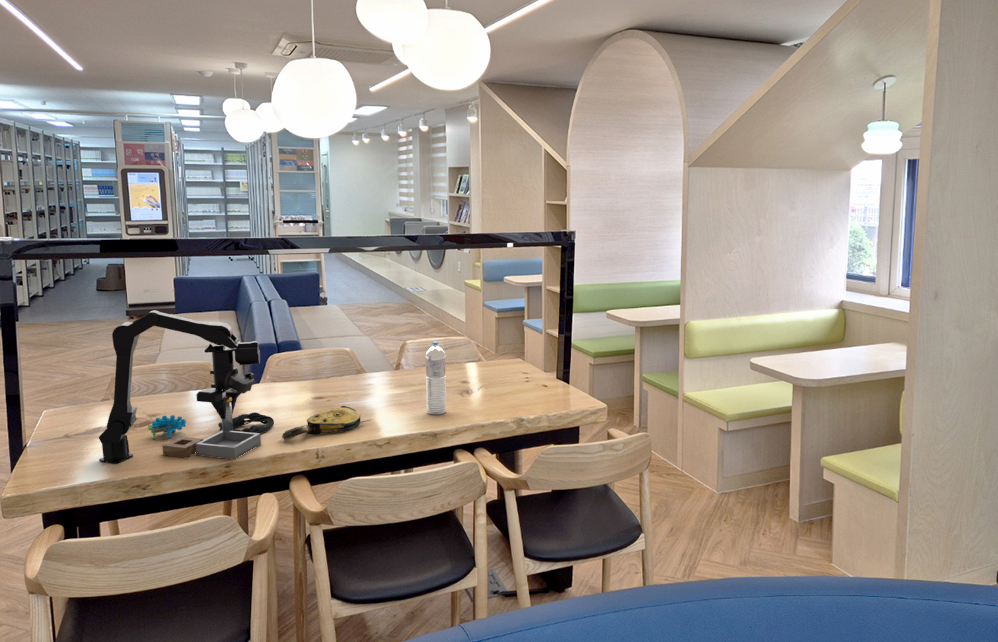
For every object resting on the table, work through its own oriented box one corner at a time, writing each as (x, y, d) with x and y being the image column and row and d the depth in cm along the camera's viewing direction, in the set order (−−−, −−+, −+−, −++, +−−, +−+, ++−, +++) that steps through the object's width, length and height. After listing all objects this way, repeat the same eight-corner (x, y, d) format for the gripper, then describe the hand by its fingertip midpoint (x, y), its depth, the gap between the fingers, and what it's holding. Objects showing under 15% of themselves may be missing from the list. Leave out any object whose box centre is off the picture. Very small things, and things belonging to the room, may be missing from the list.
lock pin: (229, 432, 217) (227, 399, 215) (218, 431, 218) (216, 398, 216) (236, 428, 220) (234, 396, 219) (226, 427, 221) (224, 395, 220)
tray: (235, 459, 212) (234, 447, 212) (196, 455, 216) (195, 443, 215) (261, 444, 225) (260, 433, 224) (224, 440, 228) (223, 429, 228)
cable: (269, 421, 248) (268, 409, 247) (281, 432, 237) (280, 419, 236) (215, 430, 239) (214, 417, 238) (225, 442, 228) (224, 429, 227)
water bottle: (431, 408, 261) (429, 339, 256) (449, 410, 259) (448, 340, 254) (423, 414, 254) (421, 343, 250) (441, 416, 252) (440, 344, 248)
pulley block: (270, 418, 230) (348, 398, 252) (269, 435, 232) (347, 413, 254) (295, 434, 221) (374, 412, 244) (295, 451, 223) (373, 428, 245)
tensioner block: (186, 457, 214) (185, 447, 213) (163, 455, 216) (162, 445, 215) (204, 448, 221) (203, 438, 221) (181, 446, 224) (180, 436, 223)
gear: (190, 425, 238) (180, 410, 230) (190, 441, 235) (180, 427, 227) (154, 431, 236) (143, 417, 228) (154, 448, 233) (142, 434, 225)
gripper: (227, 375, 205) (231, 429, 208) (265, 360, 223) (268, 410, 225) (193, 372, 208) (197, 426, 210) (233, 358, 225) (236, 407, 228)
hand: (226, 417), depth 219 cm, fingers closed on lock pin, 3 cm apart
